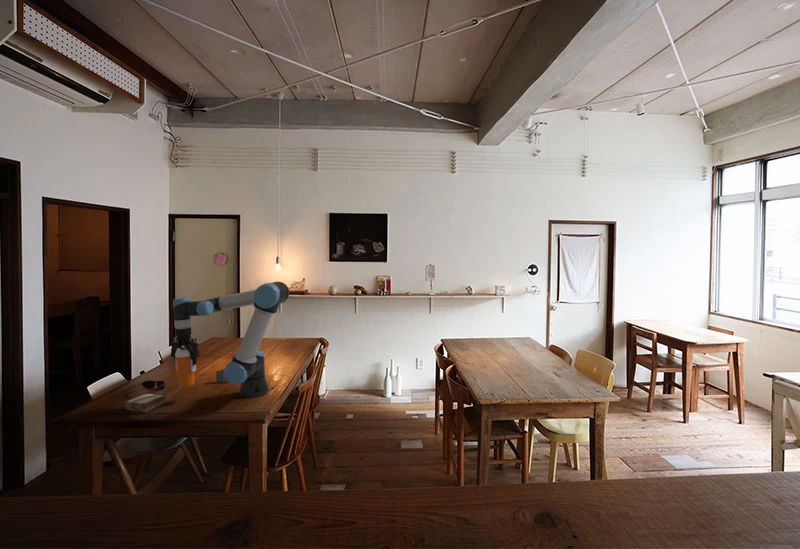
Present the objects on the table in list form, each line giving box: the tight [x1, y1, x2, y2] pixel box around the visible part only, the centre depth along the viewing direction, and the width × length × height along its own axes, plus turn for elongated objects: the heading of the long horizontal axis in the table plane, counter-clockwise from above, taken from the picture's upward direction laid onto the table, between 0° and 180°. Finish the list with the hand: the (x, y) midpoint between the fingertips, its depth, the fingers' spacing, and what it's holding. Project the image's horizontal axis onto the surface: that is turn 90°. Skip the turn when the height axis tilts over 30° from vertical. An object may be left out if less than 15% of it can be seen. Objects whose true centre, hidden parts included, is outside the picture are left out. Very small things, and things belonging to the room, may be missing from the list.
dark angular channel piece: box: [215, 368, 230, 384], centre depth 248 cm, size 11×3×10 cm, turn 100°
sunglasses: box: [130, 380, 166, 399], centre depth 231 cm, size 14×16×5 cm
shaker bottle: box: [175, 346, 196, 388], centre depth 216 cm, size 9×9×20 cm
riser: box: [124, 393, 166, 413], centre depth 209 cm, size 12×12×4 cm
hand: (186, 370), depth 216 cm, fingers closed on shaker bottle, 9 cm apart
